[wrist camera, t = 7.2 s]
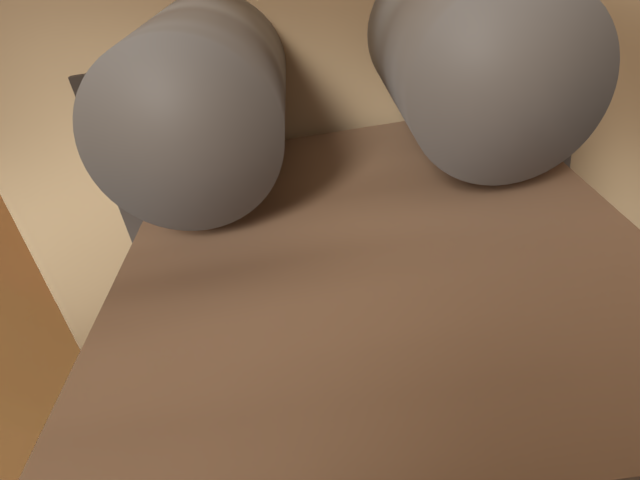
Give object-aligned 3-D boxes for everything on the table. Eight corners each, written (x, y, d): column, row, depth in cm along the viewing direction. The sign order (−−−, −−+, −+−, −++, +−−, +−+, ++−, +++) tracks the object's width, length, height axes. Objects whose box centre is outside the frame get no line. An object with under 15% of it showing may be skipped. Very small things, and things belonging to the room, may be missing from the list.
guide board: (572, 533, 16) (643, 689, 13) (216, 579, 16) (198, 742, 13) (703, -156, 7) (1039, -213, 4) (-73, -24, 8) (-342, 19, 4)
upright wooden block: (489, 418, 12) (648, 813, 6) (264, 449, 12) (245, 859, 7) (500, 105, 8) (882, 443, 3) (173, 157, 8) (-24, 563, 3)
